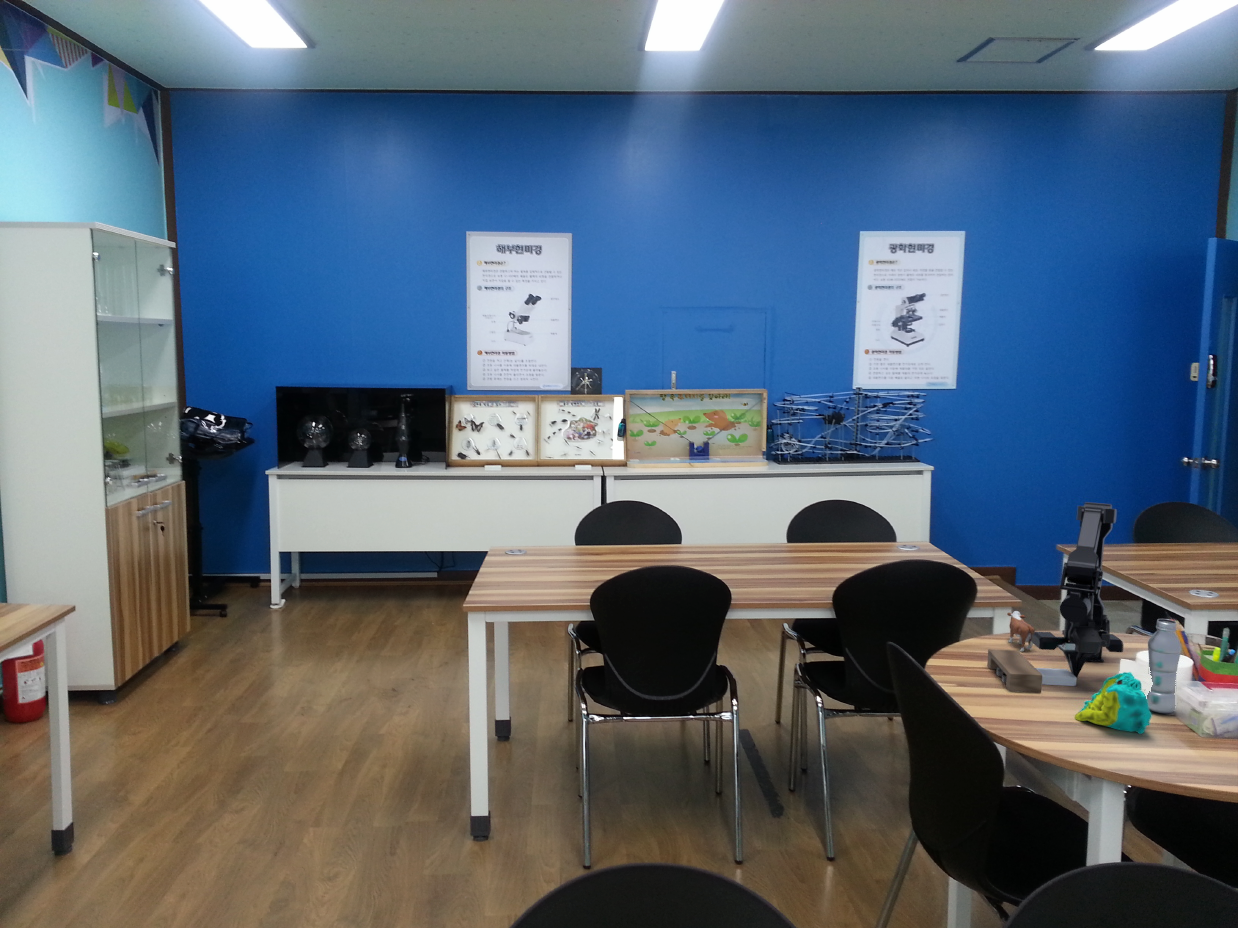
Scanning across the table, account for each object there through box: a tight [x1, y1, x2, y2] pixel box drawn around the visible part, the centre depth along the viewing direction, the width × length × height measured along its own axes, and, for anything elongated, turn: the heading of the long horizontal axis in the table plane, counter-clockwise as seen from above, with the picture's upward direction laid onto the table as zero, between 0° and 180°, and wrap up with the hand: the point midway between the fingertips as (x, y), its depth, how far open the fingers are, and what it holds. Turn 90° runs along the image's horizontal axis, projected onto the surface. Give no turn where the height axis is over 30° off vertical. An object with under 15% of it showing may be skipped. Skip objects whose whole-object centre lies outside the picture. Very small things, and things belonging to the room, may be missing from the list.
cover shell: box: [1035, 667, 1078, 687], centre depth 224 cm, size 11×6×2 cm, turn 84°
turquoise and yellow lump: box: [1074, 671, 1152, 735], centre depth 197 cm, size 15×12×13 cm
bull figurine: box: [1007, 610, 1036, 653], centre depth 250 cm, size 4×13×8 cm, turn 174°
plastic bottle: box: [1147, 618, 1182, 714], centre depth 204 cm, size 6×7×20 cm
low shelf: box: [987, 648, 1043, 694], centre depth 224 cm, size 7×18×4 cm, turn 174°
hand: (1074, 677), depth 223 cm, fingers closed
